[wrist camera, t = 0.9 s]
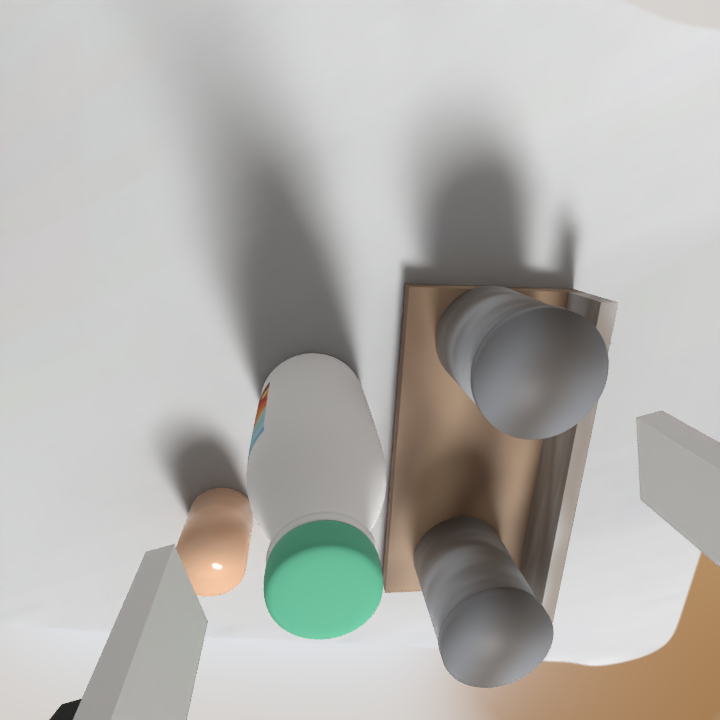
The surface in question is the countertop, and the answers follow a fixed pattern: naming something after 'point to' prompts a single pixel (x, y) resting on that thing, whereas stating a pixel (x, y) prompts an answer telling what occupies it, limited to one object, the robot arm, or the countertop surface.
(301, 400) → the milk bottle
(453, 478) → the rack
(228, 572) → the peach rounded cylinder
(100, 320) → the countertop surface
